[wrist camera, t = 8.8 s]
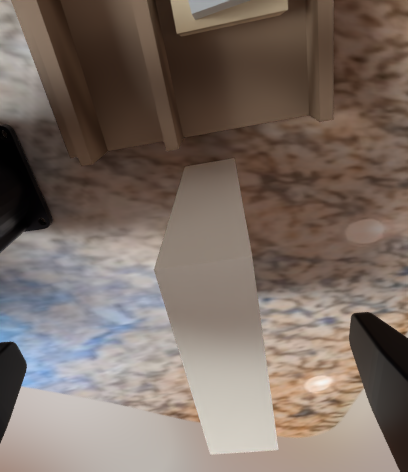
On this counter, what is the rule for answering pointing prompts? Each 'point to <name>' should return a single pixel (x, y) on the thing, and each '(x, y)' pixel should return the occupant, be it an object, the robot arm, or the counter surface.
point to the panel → (217, 309)
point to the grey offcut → (211, 6)
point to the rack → (174, 71)
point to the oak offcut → (224, 15)
